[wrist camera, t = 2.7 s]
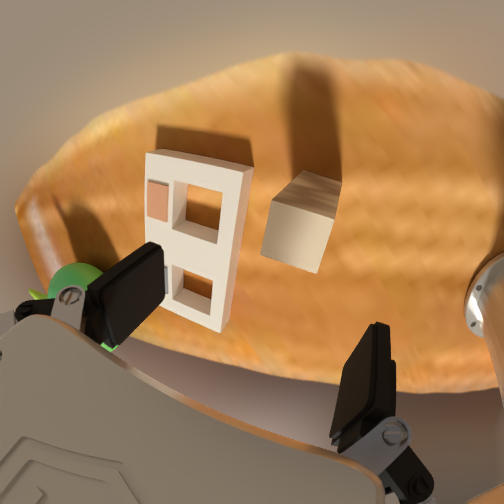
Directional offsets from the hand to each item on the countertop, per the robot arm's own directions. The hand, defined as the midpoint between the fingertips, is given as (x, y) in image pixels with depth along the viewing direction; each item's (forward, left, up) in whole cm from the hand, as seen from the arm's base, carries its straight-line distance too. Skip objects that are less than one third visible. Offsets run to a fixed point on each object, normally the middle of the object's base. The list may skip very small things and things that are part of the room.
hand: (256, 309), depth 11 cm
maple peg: (0, 0, -18) cm, 18 cm away
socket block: (+13, +10, -18) cm, 25 cm away
